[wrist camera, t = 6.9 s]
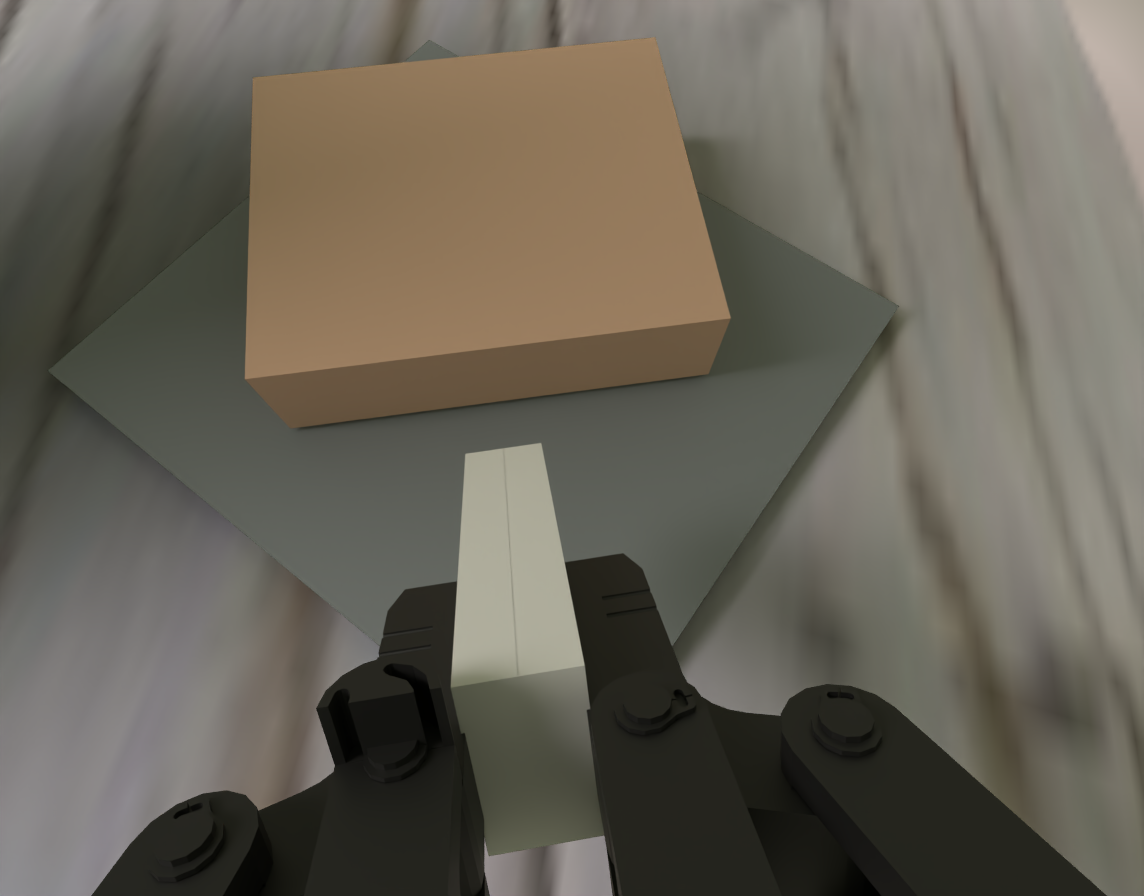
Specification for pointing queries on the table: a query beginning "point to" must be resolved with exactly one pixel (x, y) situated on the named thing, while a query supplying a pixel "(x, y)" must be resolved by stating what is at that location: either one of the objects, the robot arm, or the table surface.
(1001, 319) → the table surface
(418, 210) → the tile
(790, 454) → the mat
